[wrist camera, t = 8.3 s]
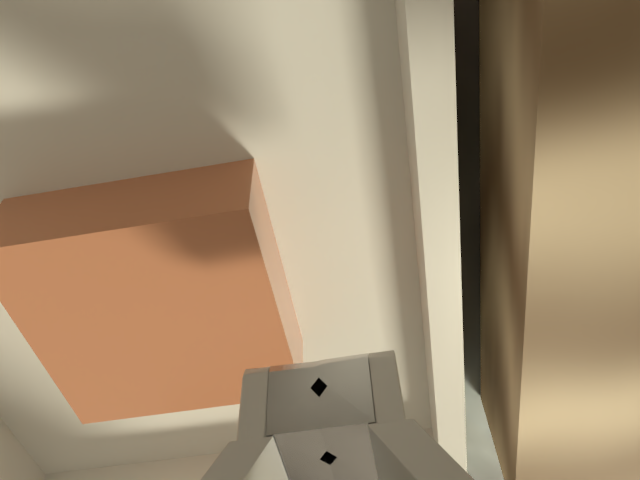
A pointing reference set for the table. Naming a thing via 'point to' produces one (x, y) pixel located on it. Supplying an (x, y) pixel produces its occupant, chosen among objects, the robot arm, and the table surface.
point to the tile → (149, 289)
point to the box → (276, 179)
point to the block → (561, 236)
